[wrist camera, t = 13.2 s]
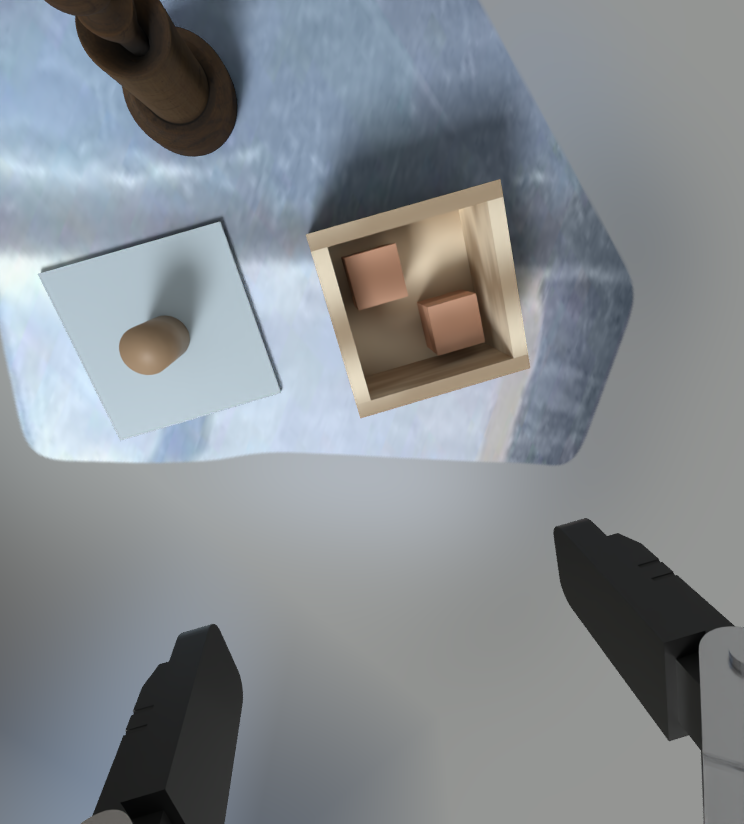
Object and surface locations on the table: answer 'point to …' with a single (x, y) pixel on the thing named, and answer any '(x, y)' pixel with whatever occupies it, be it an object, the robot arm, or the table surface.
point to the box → (425, 297)
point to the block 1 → (375, 276)
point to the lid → (164, 330)
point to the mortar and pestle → (159, 72)
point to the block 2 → (451, 321)
